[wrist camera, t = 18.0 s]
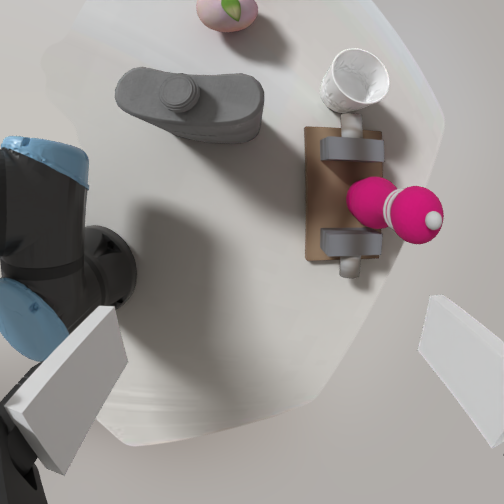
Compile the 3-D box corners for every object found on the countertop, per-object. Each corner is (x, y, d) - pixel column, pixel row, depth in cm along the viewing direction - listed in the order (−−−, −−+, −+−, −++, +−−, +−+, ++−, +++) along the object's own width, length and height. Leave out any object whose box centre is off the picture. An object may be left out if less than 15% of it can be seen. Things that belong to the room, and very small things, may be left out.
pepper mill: (357, 166, 41) (430, 166, 22) (393, 192, 42) (475, 210, 23) (334, 207, 43) (393, 236, 24) (371, 231, 44) (442, 273, 24)
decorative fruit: (193, 14, 36) (180, -16, 26) (237, -5, 35) (234, -38, 25) (218, 52, 38) (209, 24, 28) (265, 32, 37) (267, 1, 27)
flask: (159, 137, 42) (95, 116, 22) (166, 101, 40) (109, 59, 21) (256, 149, 42) (258, 130, 23) (262, 112, 41) (270, 68, 21)
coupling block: (304, 267, 47) (312, 281, 41) (303, 118, 41) (312, 109, 35) (374, 264, 47) (390, 277, 40) (377, 123, 41) (395, 117, 34)
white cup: (372, 103, 40) (400, 88, 30) (335, 126, 41) (357, 114, 31) (344, 63, 38) (365, 40, 29) (305, 84, 40) (319, 62, 30)
